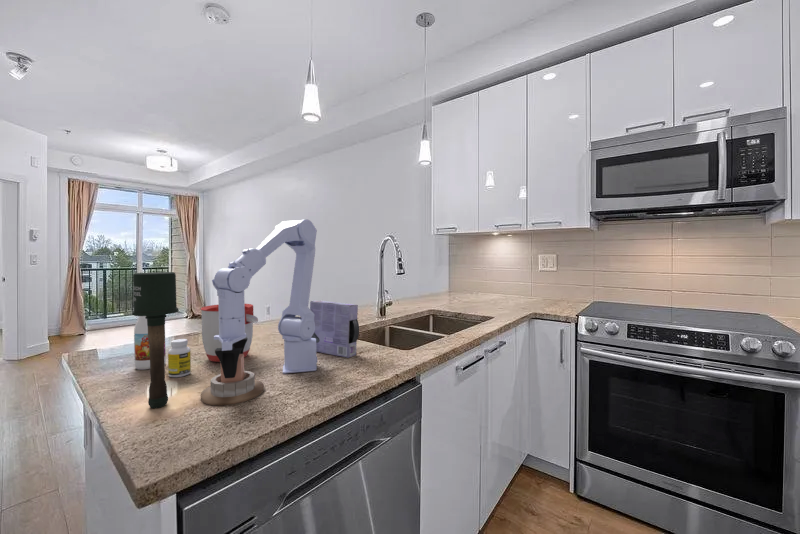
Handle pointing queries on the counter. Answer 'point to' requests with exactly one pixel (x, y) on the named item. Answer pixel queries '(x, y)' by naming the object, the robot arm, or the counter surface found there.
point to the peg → (239, 372)
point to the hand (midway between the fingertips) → (233, 372)
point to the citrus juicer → (212, 328)
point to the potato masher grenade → (155, 324)
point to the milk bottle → (142, 345)
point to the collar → (232, 390)
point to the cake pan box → (335, 327)
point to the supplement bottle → (179, 358)
